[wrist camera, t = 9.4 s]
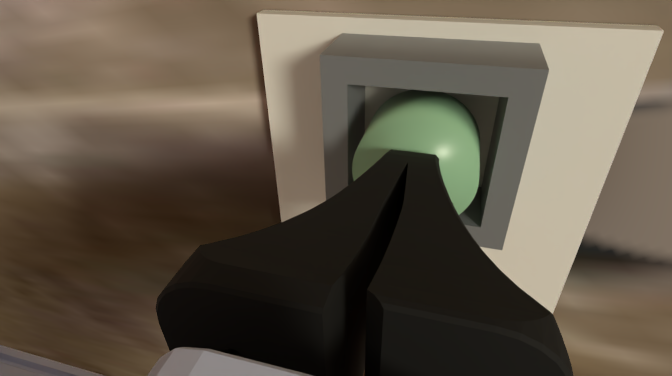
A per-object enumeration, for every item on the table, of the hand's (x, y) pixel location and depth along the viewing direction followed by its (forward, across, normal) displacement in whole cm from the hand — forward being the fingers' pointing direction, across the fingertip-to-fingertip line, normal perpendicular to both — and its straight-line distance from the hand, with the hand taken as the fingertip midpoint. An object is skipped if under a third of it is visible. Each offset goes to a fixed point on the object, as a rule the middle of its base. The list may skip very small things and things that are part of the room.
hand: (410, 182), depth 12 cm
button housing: (+4, 0, 0) cm, 4 cm away
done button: (+3, 0, 0) cm, 3 cm away
